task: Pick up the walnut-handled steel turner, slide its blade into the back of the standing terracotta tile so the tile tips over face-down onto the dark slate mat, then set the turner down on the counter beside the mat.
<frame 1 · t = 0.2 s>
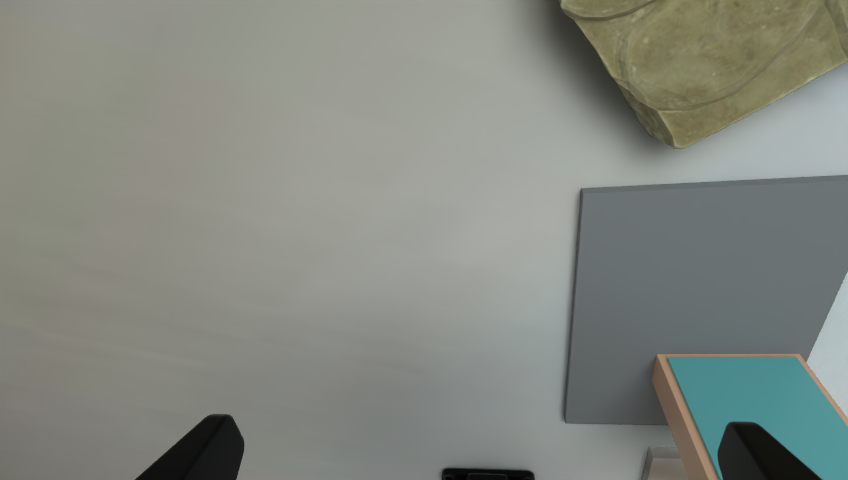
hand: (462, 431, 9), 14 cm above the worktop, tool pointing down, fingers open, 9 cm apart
terracotta tile: (722, 367, 26), resting on slate mat
slate mat: (690, 319, 25), on the worktop
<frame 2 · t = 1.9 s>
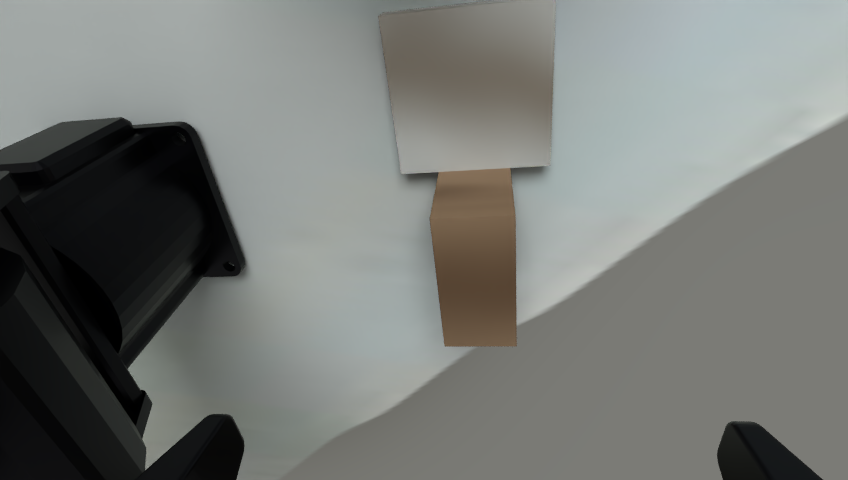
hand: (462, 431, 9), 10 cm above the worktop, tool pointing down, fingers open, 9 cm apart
turner: (477, 221, 18), on the worktop
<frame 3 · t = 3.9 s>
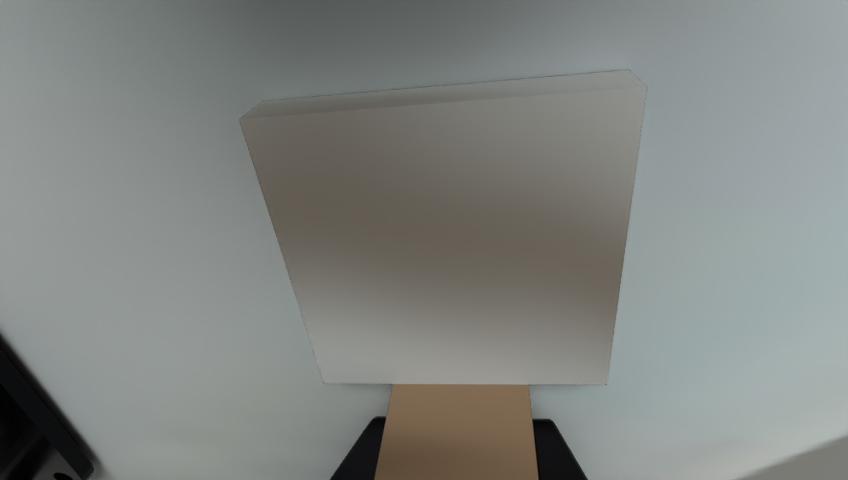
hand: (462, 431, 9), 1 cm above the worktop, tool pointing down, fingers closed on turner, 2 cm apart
turner: (468, 433, 10), on the worktop, touching gripper
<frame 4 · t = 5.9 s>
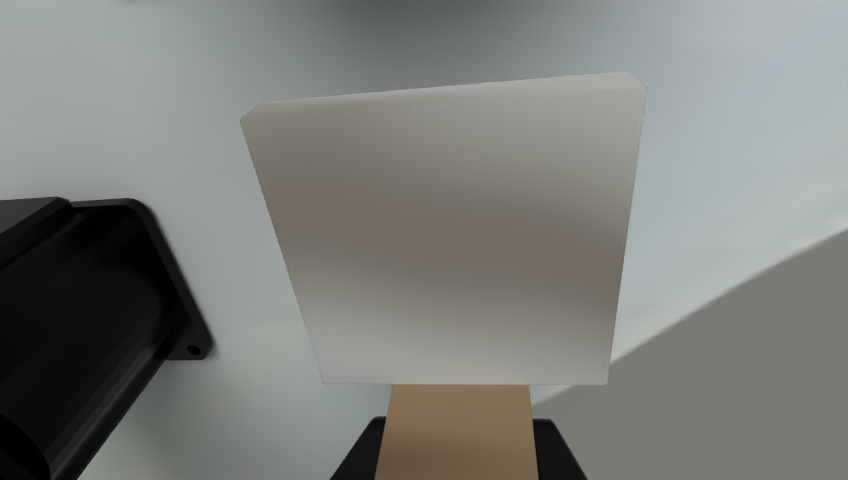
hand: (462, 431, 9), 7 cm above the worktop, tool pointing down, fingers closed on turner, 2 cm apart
turner: (468, 433, 10), point 6 cm above the worktop, touching gripper
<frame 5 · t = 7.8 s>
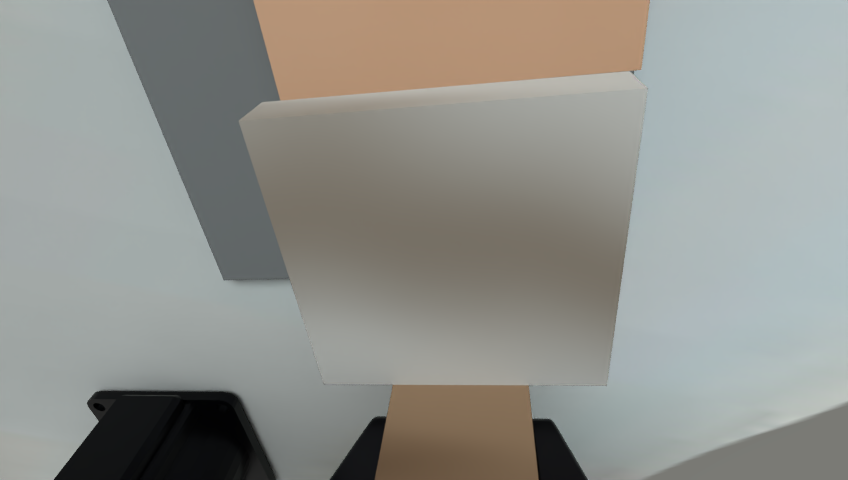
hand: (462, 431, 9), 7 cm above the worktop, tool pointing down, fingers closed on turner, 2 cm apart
turner: (468, 433, 10), point 6 cm above the worktop, touching gripper
terracotta tile: (453, 73, 10), point 2 cm above the worktop, tilted 90°, touching slate mat
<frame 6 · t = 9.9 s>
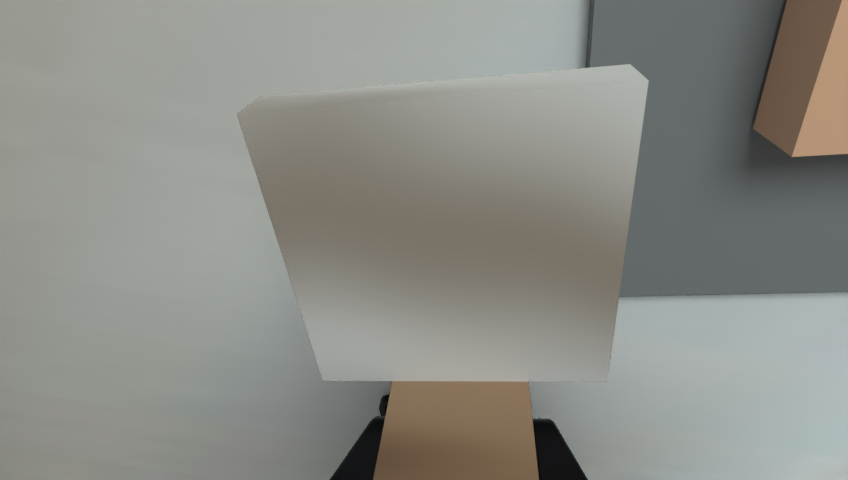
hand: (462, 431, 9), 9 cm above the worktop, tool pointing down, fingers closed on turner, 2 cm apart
turner: (468, 430, 10), point 8 cm above the worktop, touching gripper
slate mat: (819, 47, 13), on the worktop
when the fingers open (2 cm above the worktop, at t = 11.5 s): turner drops 2 cm, on the worktop.
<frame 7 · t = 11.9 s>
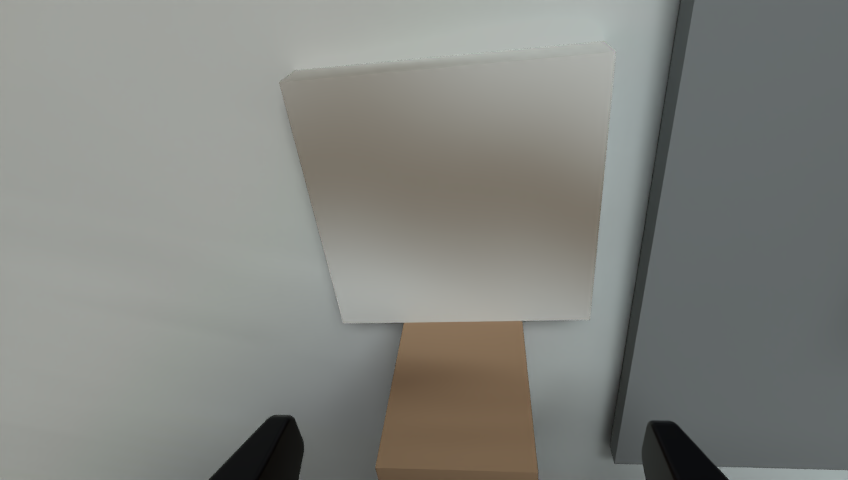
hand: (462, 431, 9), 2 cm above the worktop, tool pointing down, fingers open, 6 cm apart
turner: (470, 376, 12), on the worktop
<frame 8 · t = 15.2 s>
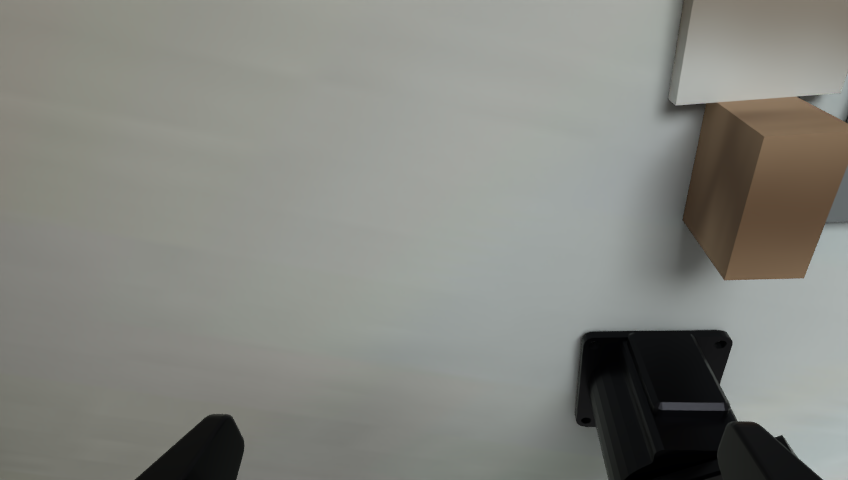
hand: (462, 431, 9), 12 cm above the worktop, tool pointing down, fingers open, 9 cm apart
turner: (728, 160, 18), on the worktop
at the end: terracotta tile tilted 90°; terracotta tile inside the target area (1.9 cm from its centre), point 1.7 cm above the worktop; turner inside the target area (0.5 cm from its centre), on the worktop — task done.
